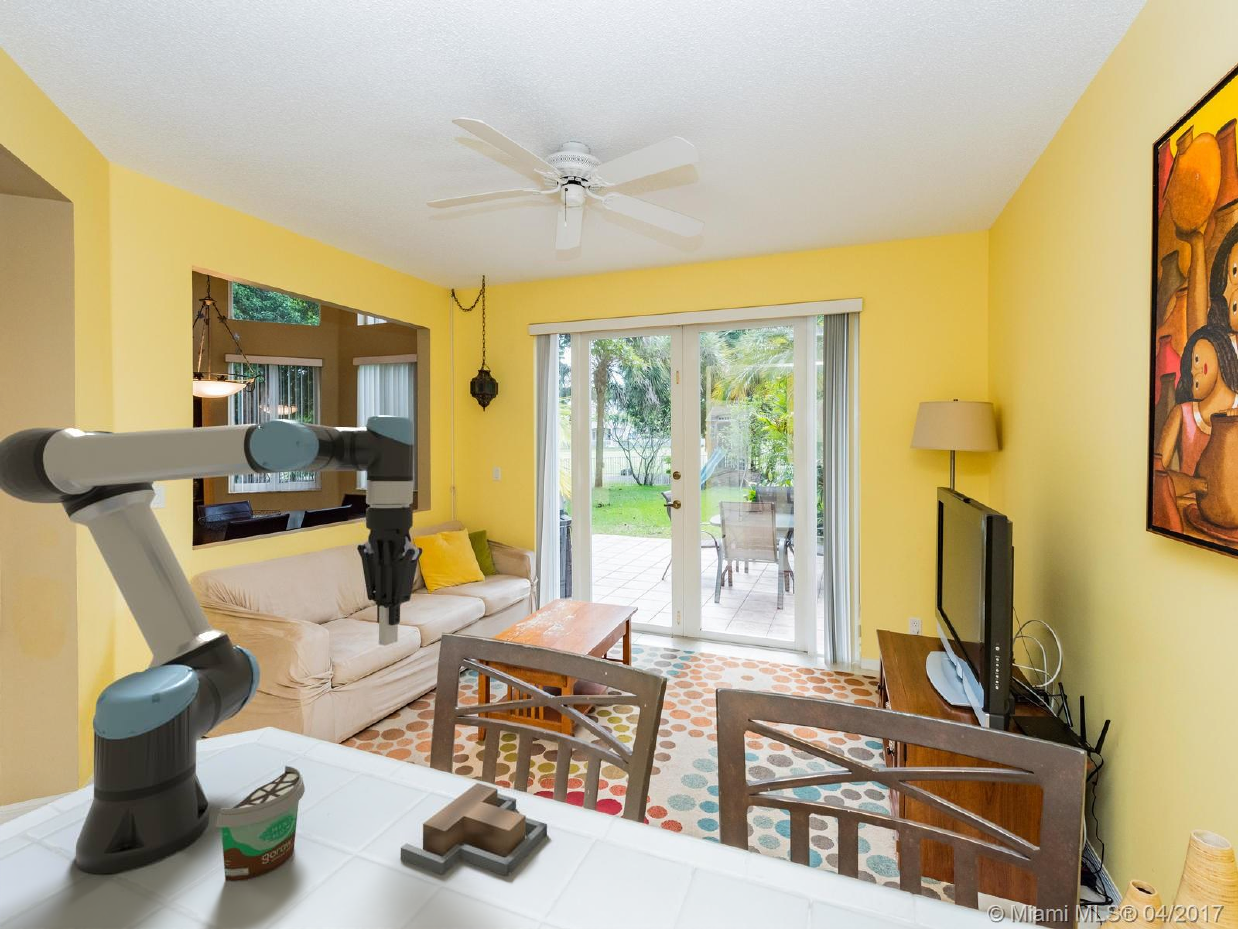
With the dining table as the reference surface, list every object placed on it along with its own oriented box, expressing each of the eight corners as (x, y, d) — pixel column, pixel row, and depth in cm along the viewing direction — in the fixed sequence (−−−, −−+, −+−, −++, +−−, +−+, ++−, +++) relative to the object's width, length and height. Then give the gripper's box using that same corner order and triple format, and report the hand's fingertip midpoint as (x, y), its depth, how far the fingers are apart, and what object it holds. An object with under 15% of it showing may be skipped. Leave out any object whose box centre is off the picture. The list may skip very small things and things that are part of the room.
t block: (422, 852, 83) (423, 823, 83) (477, 808, 94) (477, 783, 94) (491, 877, 78) (491, 847, 78) (540, 828, 89) (540, 801, 89)
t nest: (400, 858, 82) (400, 847, 82) (478, 797, 97) (478, 787, 97) (490, 893, 75) (490, 881, 75) (559, 821, 90) (559, 811, 90)
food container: (256, 896, 74) (257, 817, 74) (215, 888, 75) (216, 811, 76) (323, 836, 86) (324, 768, 86) (287, 831, 88) (288, 764, 88)
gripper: (434, 506, 101) (432, 642, 101) (379, 503, 107) (378, 632, 107) (401, 508, 95) (399, 654, 94) (344, 505, 100) (343, 643, 100)
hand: (388, 642), depth 101 cm, fingers closed
